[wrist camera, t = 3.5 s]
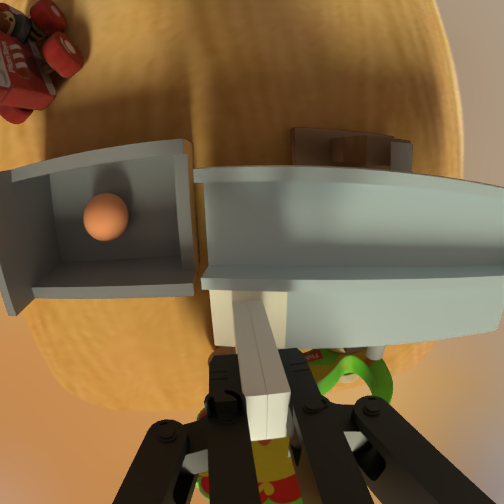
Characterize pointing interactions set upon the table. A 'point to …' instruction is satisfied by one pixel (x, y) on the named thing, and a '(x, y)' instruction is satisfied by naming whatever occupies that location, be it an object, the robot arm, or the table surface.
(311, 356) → the toy lion
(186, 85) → the table surface
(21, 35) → the toy fire truck
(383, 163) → the stand
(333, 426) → the robot arm
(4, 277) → the pulled-out tray drawer
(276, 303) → the lever
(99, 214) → the ball
